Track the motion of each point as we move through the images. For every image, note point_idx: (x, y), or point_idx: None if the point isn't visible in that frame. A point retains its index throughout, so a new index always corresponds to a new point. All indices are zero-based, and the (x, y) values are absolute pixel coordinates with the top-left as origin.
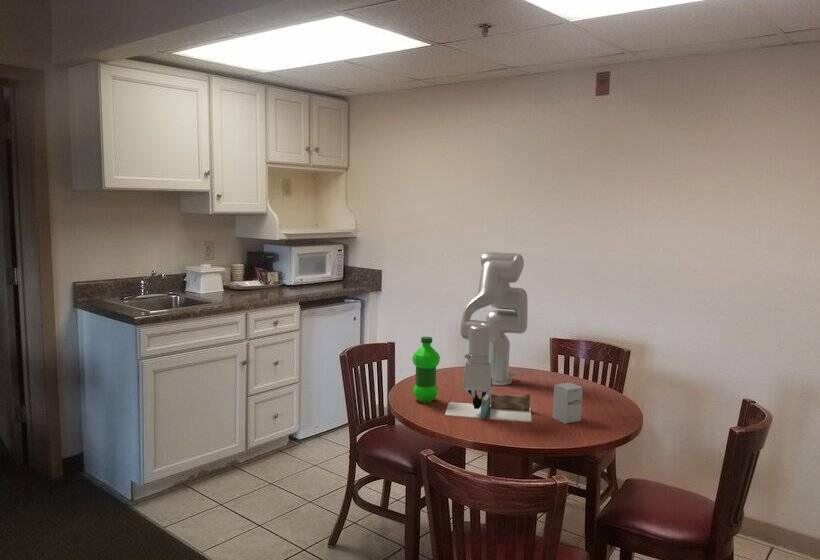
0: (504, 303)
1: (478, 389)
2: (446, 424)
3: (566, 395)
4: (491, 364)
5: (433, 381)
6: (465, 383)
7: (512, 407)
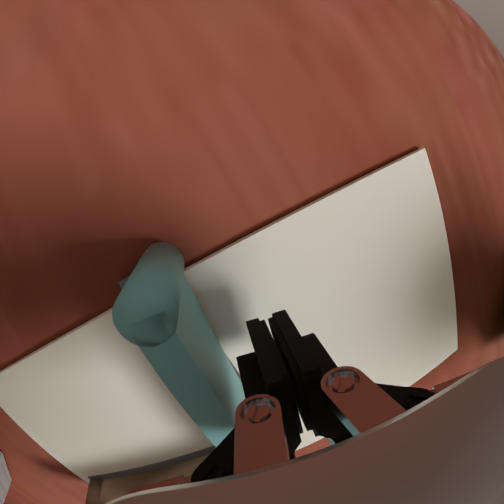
0: None
1: (284, 486)
2: (326, 5)
3: None
4: None
5: None
6: None
7: (144, 479)
